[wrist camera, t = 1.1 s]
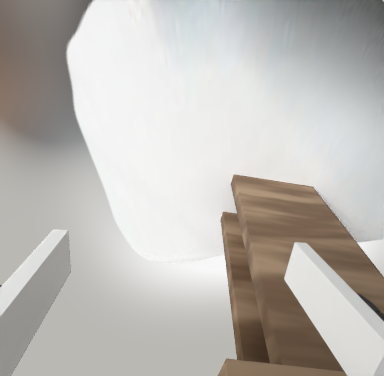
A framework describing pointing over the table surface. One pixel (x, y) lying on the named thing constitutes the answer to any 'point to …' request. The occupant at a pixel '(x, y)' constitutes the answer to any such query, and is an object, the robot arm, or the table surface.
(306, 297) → the robot arm
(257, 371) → the shelf
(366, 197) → the table surface
